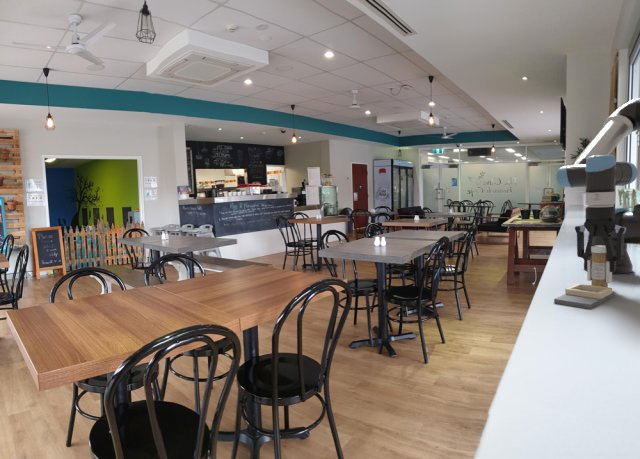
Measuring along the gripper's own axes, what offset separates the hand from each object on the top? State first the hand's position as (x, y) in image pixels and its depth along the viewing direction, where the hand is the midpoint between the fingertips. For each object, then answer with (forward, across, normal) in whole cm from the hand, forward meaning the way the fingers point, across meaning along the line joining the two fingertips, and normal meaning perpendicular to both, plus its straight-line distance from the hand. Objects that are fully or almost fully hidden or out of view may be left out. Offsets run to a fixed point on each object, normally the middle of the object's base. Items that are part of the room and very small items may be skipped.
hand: (599, 280), depth 130 cm
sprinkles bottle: (+3, 0, 0) cm, 3 cm away
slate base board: (+2, +2, -16) cm, 16 cm away
